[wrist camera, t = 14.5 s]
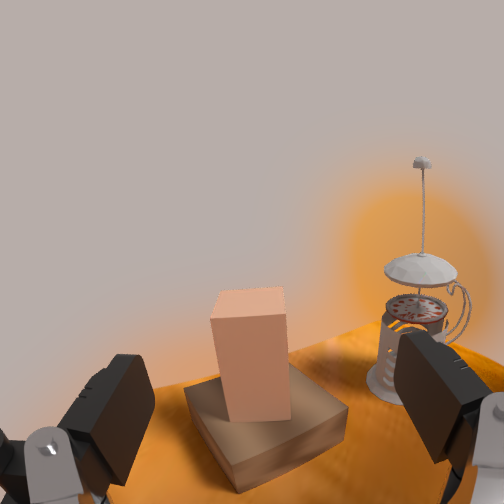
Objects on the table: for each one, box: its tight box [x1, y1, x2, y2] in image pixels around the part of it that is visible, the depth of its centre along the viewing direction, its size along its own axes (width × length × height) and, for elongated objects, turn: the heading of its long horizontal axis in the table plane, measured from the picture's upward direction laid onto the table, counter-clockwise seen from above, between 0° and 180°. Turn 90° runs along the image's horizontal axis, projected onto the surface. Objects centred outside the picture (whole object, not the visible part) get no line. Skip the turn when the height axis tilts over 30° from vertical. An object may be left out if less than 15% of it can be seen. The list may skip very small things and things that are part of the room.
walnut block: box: [184, 363, 349, 494], centre depth 26 cm, size 11×11×5 cm
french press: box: [366, 156, 472, 405], centre depth 28 cm, size 10×12×25 cm
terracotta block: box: [210, 286, 291, 422], centre depth 24 cm, size 5×5×10 cm
